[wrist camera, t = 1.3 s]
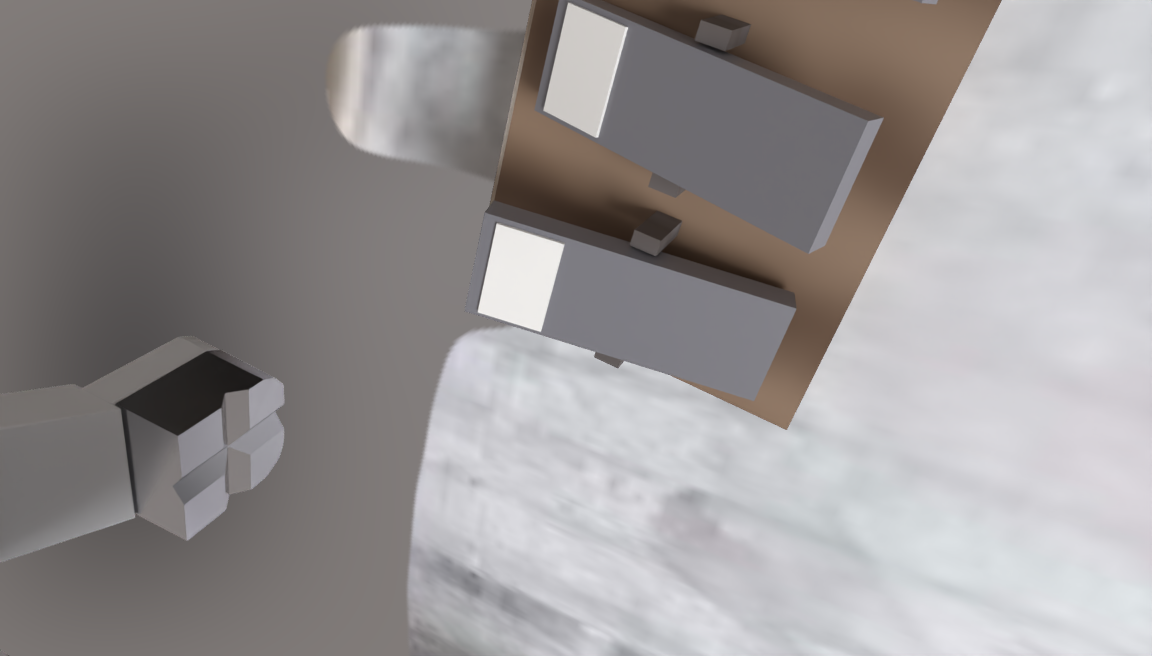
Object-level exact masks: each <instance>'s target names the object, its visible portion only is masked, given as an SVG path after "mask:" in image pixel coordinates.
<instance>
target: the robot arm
mask: <svg viewBox="0 0 1152 656" xmlns="http://www.w3.org/2000/svg"><path fill="white" fill-rule="evenodd" d="M283 404H284V385H283V384H282V383H281V382H280V381H278V380H277V379H276V378H274V377H272V376H270V375H268V374H266V373H264V372H263V371H261V370H259V369H257V368H255V367H253V366H251V365H249V364H247V363H245V362H243V361H241V360H239V359H237V358H236V357H233V356H232V355H230V354H228V353H226V352H224V351H222V350H219V349H217V348H215V347H213V346H211V345H209V344H207V343H205V342H203V341H201V340H199V339H197V338H195V337H193V336H184V337H178V338H175V339H174V340H172V341H170V342H168V343H166V344H164V345H162V346H161V347H159V348H157V349H155V350H153V351H151V352H149V353H147V354H145V355H144V356H142V357H140V358H138V359H136V360H134V361H132V362H130V363H129V364H127V365H125V366H123V367H121V368H119V369H117V370H115V371H114V372H112V373H110V374H108V375H106V376H104V377H102V378H100V379H98V380H97V381H95V382H93V383H91V384H89V385H87V386H85V387H83V388H81V387H78V386H77V385H74V384H69V385H62V386H55V387H48V388H40V389H33V390H26V391H19V392H12V393H4V394H0V563H1V562H4V561H7V560H10V559H13V558H16V557H19V556H22V555H25V554H28V553H31V552H34V551H37V550H39V549H43V548H46V547H49V546H52V545H55V544H58V543H61V542H64V541H67V540H70V539H73V538H76V537H79V536H82V535H85V534H88V533H91V532H94V531H97V530H100V529H103V528H106V527H109V526H112V525H115V524H118V523H121V522H124V521H127V520H130V519H133V518H135V514H136V515H138V516H140V517H142V518H144V519H146V520H148V521H150V522H151V523H153V524H155V525H157V526H159V527H161V528H163V529H165V530H167V531H169V532H171V533H172V534H174V535H176V536H179V537H180V538H182V539H184V540H186V541H188V540H189V539H190V538H192V537H193V536H194V535H195V534H196V533H198V532H199V531H200V530H202V529H203V528H204V527H205V526H207V525H208V524H209V523H210V522H211V521H213V520H214V519H215V518H216V517H218V516H219V515H220V514H222V513H223V512H224V511H225V510H226V507H227V503H228V499H229V495H231V494H235V493H239V492H243V491H248V490H251V489H252V488H254V487H255V486H256V485H257V484H258V483H259V482H261V481H262V480H263V479H264V478H265V477H266V476H267V475H268V474H269V472H270V471H271V469H272V468H273V466H274V465H275V463H276V462H277V461H278V459H279V457H280V454H281V450H282V447H283V444H284V428H283V426H282V424H281V422H280V420H279V418H278V416H277V414H276V412H275V411H277V410H278V409H279V408H280V407H281V406H282V405H283ZM0 656H9V655H8V654H6V653H4V652H3V651H1V650H0Z"/></svg>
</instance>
